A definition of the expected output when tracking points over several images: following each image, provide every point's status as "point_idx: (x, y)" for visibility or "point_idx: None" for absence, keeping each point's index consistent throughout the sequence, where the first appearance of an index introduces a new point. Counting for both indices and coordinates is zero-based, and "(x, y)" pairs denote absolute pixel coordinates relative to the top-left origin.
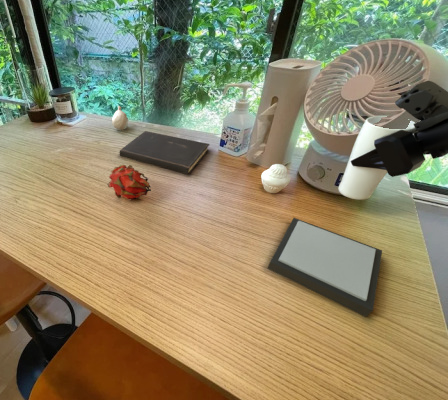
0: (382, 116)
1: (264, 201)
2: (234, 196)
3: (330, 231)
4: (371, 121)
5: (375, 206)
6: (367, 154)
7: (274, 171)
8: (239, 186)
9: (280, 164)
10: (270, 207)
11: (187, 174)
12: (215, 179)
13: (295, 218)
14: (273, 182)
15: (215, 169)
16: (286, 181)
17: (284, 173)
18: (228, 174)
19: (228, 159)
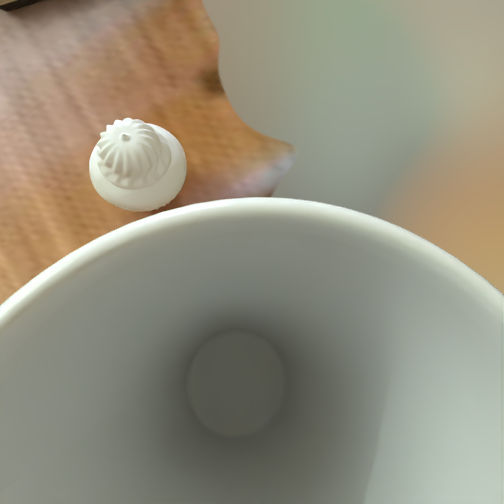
0: (469, 297)
1: (79, 217)
2: (26, 155)
3: None
4: (325, 249)
5: None
6: None
7: (99, 147)
8: (85, 130)
9: (140, 131)
10: (67, 245)
11: (1, 8)
12: (56, 69)
13: None
14: (92, 182)
15: (102, 35)
16: (131, 202)
17: (125, 174)
18: (112, 72)
19: (183, 21)
